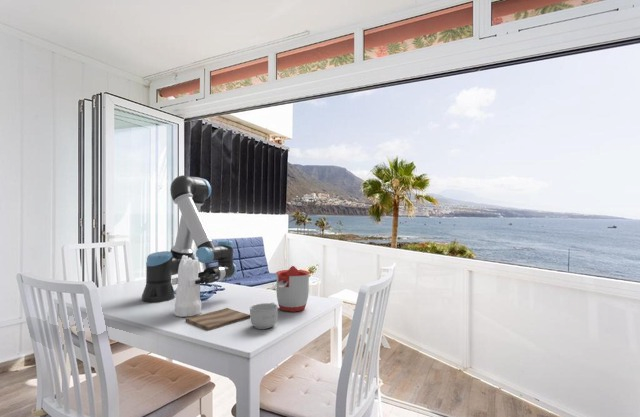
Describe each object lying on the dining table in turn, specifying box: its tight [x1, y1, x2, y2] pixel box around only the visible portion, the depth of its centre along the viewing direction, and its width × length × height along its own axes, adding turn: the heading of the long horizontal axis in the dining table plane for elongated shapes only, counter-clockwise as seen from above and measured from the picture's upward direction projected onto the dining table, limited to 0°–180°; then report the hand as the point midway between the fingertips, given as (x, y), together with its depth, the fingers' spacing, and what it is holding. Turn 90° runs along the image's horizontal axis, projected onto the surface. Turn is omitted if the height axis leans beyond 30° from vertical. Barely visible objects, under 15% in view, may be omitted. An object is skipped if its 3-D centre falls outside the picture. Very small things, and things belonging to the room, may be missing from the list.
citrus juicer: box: [275, 265, 310, 313], centre depth 154 cm, size 16×17×20 cm
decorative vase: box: [173, 255, 202, 318], centre depth 145 cm, size 11×11×25 cm
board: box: [185, 307, 250, 331], centre depth 137 cm, size 16×20×1 cm
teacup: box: [249, 302, 279, 330], centre depth 131 cm, size 14×11×8 cm
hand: (180, 282), depth 140 cm, fingers closed on decorative vase, 8 cm apart
